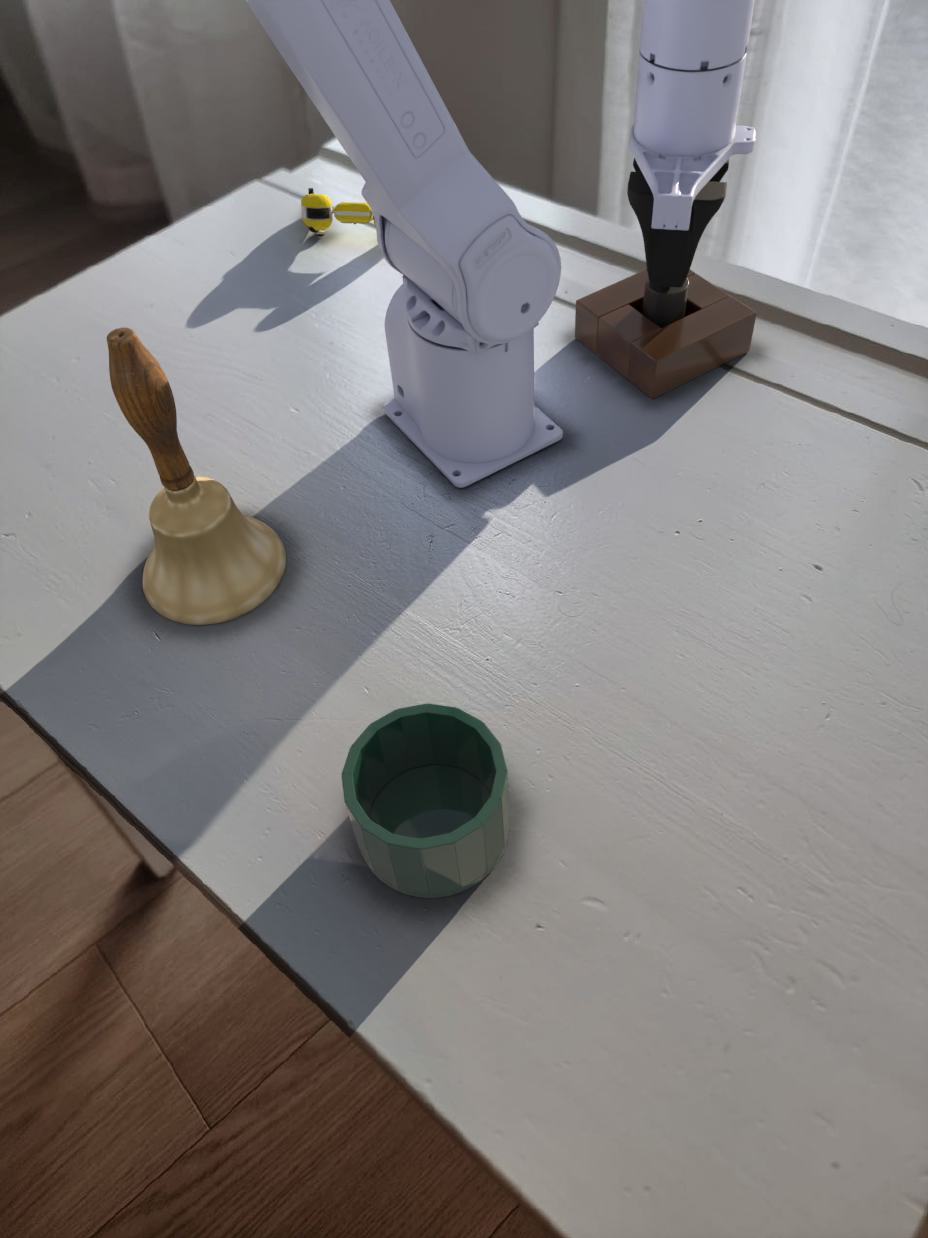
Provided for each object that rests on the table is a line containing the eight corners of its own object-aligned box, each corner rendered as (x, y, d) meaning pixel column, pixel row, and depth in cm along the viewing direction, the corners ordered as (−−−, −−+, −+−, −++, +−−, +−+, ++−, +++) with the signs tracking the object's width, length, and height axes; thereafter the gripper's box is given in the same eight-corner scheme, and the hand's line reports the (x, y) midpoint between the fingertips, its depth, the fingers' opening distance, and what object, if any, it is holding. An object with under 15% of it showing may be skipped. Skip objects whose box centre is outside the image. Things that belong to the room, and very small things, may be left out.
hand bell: (139, 637, 55) (21, 406, 42) (146, 530, 60) (43, 296, 47) (290, 613, 55) (217, 377, 43) (283, 509, 60) (217, 272, 48)
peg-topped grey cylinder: (631, 331, 68) (641, 214, 61) (663, 317, 69) (676, 199, 62) (658, 351, 66) (671, 232, 60) (690, 336, 67) (707, 217, 61)
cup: (332, 809, 47) (313, 755, 43) (456, 737, 49) (449, 678, 45) (408, 928, 43) (394, 880, 39) (539, 844, 45) (538, 790, 42)
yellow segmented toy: (288, 241, 78) (284, 193, 76) (313, 230, 83) (310, 184, 81) (412, 246, 76) (411, 197, 74) (429, 234, 82) (429, 187, 80)
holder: (574, 337, 69) (575, 300, 67) (667, 294, 72) (672, 256, 69) (652, 399, 65) (656, 361, 62) (749, 351, 67) (757, 312, 65)
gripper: (766, 113, 48) (725, 348, 59) (772, -3, 57) (736, 219, 68) (620, 108, 50) (606, 339, 60) (648, -5, 58) (631, 214, 69)
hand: (667, 275), depth 64 cm, fingers closed on peg-topped grey cylinder
